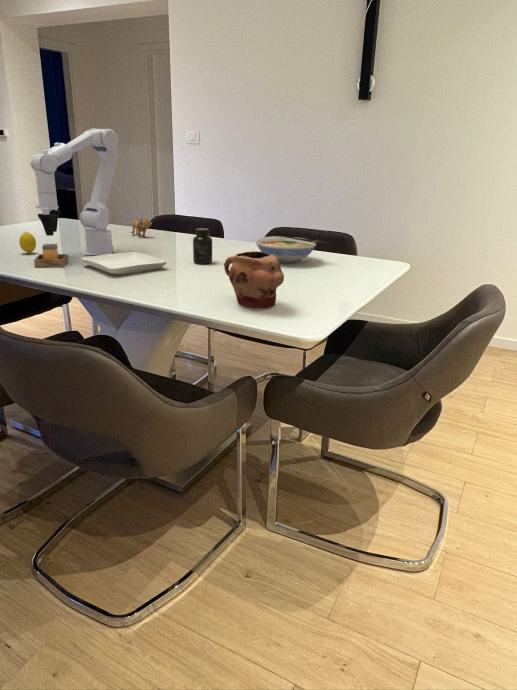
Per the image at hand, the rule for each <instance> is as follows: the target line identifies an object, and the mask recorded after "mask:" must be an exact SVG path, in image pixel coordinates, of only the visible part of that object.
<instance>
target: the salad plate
mask: <svg viewBox="0 0 517 690" xmlns="http://www.w3.org/2000/svg"><path fill="white" fill-rule="evenodd" d="M80 259H81V261H82V262H83V263H84V264H86V265H88V266H90V267H93V268H95V269H97V270H99V271H102V272H105V273H108V274H110V275H114V276H115V275H116V276H121V275H128V274H129V275H130V274H135V273H136V274H137V273H142V272H147V271H155V270H157V269H160V268H163V267H164V266H165V265H167V263H168V261H166V260H164V259H162V258H158V257H154V256H152V255H148V254H144V253H141V252H137V251H127V252H119V253H112V254H107V255H91V256H85V257H84V256H83V257H80Z"/></svg>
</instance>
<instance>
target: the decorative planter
mask: <svg viewBox="0 0 517 690" xmlns="http://www.w3.org/2000/svg"><path fill="white" fill-rule="evenodd" d="M230 265H231V266H230ZM223 266H224V272H225V274H226V276H228V279H229V281H230V284H231V285H232V288H233V291H234V294H235V297H236V300H237V301H236V302H237V304H238V305H239V306H241V307H243V308H247V309H251V310H266V309H270V308H272V307H273V308H274V307H275V305H276V301H277V289H278V288H279V287H280V286H281V285H282V284H283V283H284V280H285V274H284V272H283V270H282V267H281V264H280V262H279V261H278V260H277V258H276V257H275V256H274V255H271V254H268V253H263V252H261V251H256V250H255V251H244V252H239V253H236V254H235V255H232V256H228V257H227V258H226V259H225V261H224V263H223Z"/></svg>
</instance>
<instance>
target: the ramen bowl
mask: <svg viewBox="0 0 517 690" xmlns="http://www.w3.org/2000/svg"><path fill="white" fill-rule="evenodd" d="M254 242H255V244H256V247H257V248H258V249H259V250H260V251H259V252H263V253H268V254H271V255H274V256H275V257H276V258H277V260H278V261H279V263H281V264H292V263H296V261H300V260H302V259H305V258H306V257H308V256H309V255H311V253H312V252H313V251H314V249H315V247H316V246H317V244H319V245H324V244H325V245H327V241H324V240H323V241H320V240H314V239H308V238H304V237H296V236H295V237H294V236H286V235H280V234H271V236H263V237H260V238H257V239H255V241H254Z"/></svg>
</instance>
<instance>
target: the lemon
mask: <svg viewBox="0 0 517 690" xmlns="http://www.w3.org/2000/svg"><path fill="white" fill-rule="evenodd" d="M36 240H37V239H36V237H35V236H34V235H33V234H32V233H30V232H28V231H25V232H23V233H22V234H21V235H20V237H19V241H18V242H19V247H20V248H21V250H22V251H23V252H25V253H27V254H28V255H29V254H31V253H33V252H34V251H35V250H36V248H37V241H36Z"/></svg>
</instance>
